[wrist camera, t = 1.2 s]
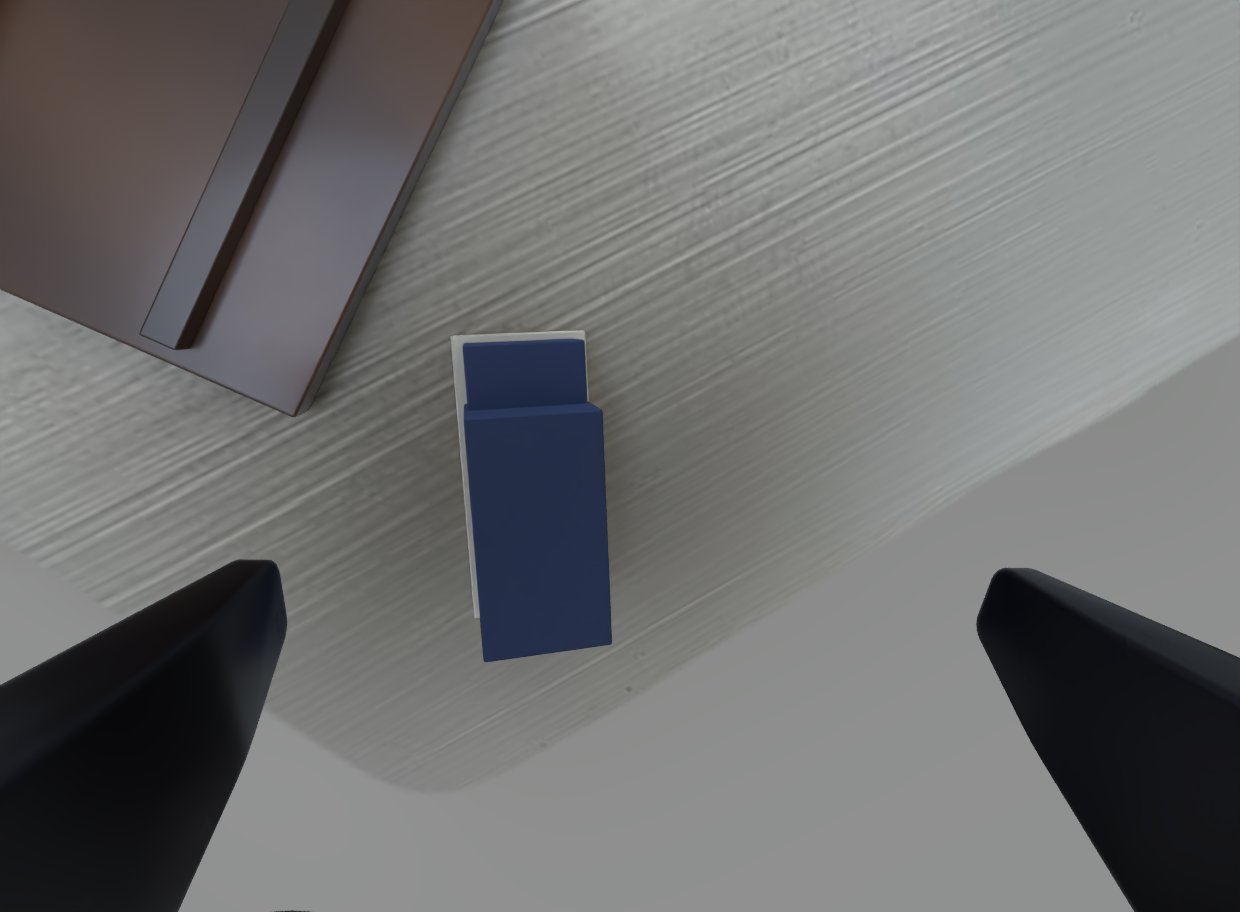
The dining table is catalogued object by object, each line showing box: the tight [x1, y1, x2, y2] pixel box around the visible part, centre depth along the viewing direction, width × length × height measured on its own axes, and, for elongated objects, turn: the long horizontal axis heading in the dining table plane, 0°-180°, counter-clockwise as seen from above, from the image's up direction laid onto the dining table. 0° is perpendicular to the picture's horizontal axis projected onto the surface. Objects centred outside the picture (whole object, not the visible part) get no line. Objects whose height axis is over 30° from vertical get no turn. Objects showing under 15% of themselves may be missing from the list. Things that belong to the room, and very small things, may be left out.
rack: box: [0, 0, 503, 417], centre depth 15 cm, size 14×12×2 cm
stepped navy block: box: [450, 330, 612, 662], centre depth 18 cm, size 8×4×4 cm, turn 1°
